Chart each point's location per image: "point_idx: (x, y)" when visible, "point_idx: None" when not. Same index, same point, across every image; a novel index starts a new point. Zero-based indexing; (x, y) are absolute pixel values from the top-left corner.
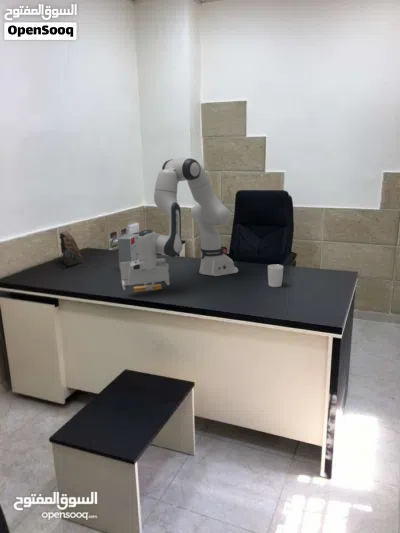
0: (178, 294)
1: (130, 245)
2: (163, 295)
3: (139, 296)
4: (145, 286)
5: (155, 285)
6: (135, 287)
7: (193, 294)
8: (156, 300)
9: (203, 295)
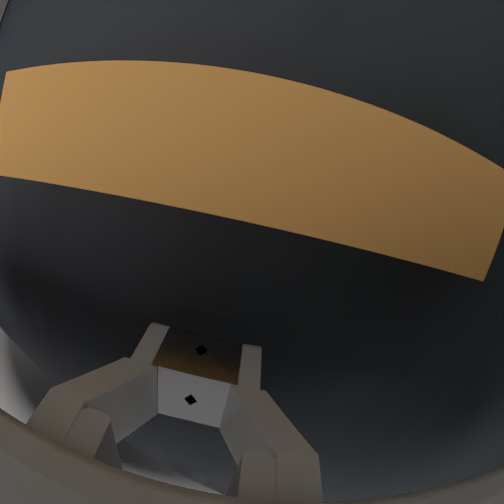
0: (433, 441)
1: None
2: (327, 435)
3: (74, 340)
4: (182, 137)
5: (418, 201)
6: (13, 118)
7: (478, 450)
8: (214, 474)
9: (485, 462)
